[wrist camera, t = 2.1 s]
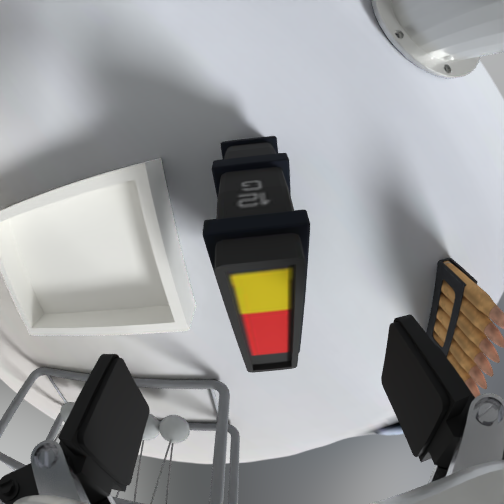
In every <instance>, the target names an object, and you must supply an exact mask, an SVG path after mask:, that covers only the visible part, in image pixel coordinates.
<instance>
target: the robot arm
mask: <svg viewBox="0 0 504 504" xmlns="http://www.w3.org/2000/svg"><path fill="white" fill-rule="evenodd" d="M372 6H373V10H374V13H375V16H376V18H377V20H378V22H379V25H380V26H381V28H382V30H383V31H384V33H385V34H386V36H387V37H388V39H389V40H390V41H391V42H392V44H393V45H394V46H395V47H396V48H397V49H398V50H399V51H400V52H401V53H402V54H403V55H404V56H405V57H406V58H407V59H408V60H409V61H411V62H412V63H413V64H415V65H416V66H417V67H419V68H421V69H422V70H424V71H426V72H428V73H430V74H433V75H435V76H438V77H443V78H457V77H463V76H465V75H467V74H469V73H471V72H472V71H473V70H474V69H475V68H476V66H477V64H478V63H479V60H480V57H481V56H484V55H490V54H496V53H502V52H504V0H372ZM381 379H382V385H383V388H384V390H385V392H386V394H387V396H388V399H389V401H390V403H391V405H392V407H393V409H394V412H395V414H396V416H397V418H398V421H399V423H400V425H401V427H402V430H403V432H404V434H405V437H406V439H407V441H408V444H409V446H410V448H411V450H412V453H413V455H414V456H415V457H417V456H419V459H420V461H421V462H423V461H426V460H428V459H430V458H432V460H433V462H434V464H435V467H434V470H433V473H432V475H431V477H430V480H429V482H428V484H427V485H424V486H421V487H419V488H416V489H414V490H411V491H408V492H405V493H402V494H399V495H396V496H394V497H390V498H387V499H384V500H381V501H377V502H374V503H371V504H504V400H503V399H502V398H501V397H499V396H498V395H494V394H492V393H491V394H490V393H485V394H482V395H479V396H477V397H476V398H475V397H474V395H473V394H472V392H471V391H470V389H469V388H468V386H467V385H466V384H465V382H464V381H463V379H462V378H461V376H460V375H459V374H458V372H457V371H456V370H455V368H454V367H453V365H452V364H451V363H450V361H449V360H448V359H447V357H446V356H445V355H444V353H443V352H442V351H441V349H440V348H439V347H438V346H436V345H435V344H434V343H433V342H432V340H431V339H430V338H429V336H428V335H427V334H426V332H425V331H424V330H423V329H422V327H421V326H420V325H419V324H418V322H417V321H416V320H415V319H414V317H413V316H412V315H406V316H402V317H398V318H395V320H394V323H391V324H390V327H389V334H388V341H387V348H386V354H385V361H384V366H383V372H382V378H381ZM148 416H149V406H148V404H147V402H146V401H145V399H144V397H143V396H142V394H141V392H140V390H139V388H138V387H137V385H136V383H135V381H134V379H133V377H132V376H131V374H130V372H129V370H128V368H127V366H126V364H125V362H124V360H123V359H122V358H120V357H119V356H118V355H117V354H103V355H101V356H100V358H99V359H98V361H97V363H96V365H95V367H94V368H93V370H92V372H91V374H90V376H89V377H88V379H87V381H86V383H85V385H84V387H83V389H82V391H81V393H80V394H79V396H78V398H77V400H76V402H75V404H74V406H73V408H72V410H71V412H70V414H69V416H68V418H67V420H66V422H65V424H64V427H63V428H62V431H61V433H60V435H59V437H58V438H59V439H60V443H59V444H58V443H57V442H56V441H53V440H46V441H43V442H41V443H39V444H38V445H37V446H36V447H35V448H34V449H33V451H32V454H31V463H30V464H28V465H26V466H24V467H22V468H20V469H18V470H16V471H13V472H11V473H9V474H7V475H5V476H4V477H2V478H1V480H0V504H116V503H115V501H114V500H113V498H112V496H111V494H110V492H111V489H114V490H119V491H125V490H126V486H127V485H129V484H130V483H131V479H132V475H133V471H134V467H135V463H136V460H137V456H138V452H139V449H140V445H141V441H142V438H143V434H144V430H145V427H146V423H147V420H148Z"/></svg>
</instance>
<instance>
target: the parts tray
mask: <svg viewBox="0 0 504 504" xmlns="http://www.w3.org/2000/svg"><path fill="white" fill-rule="evenodd" d="M0 271H1V274H2V276H3V279H4V281H5V284H6V286H7V289H8V291H9V293H10V295H11V298H12V300H13V302H14V304H15V306H16V308H17V311H18V313H19V315H20V317H21V319H22V321H23V323H24V325H25V326H26V328H27V330H28V332H29V334H30V335H33V336H103V335H131V334H150V333H166V332H180V331H189V330H190V327H191V323H192V319H193V316H194V312H195V309H196V302H195V299H194V295H193V291H192V288H191V284H190V280H189V277H188V273H187V269H186V265H185V261H184V257H183V253H182V250H181V245H180V241H179V237H178V233H177V229H176V225H175V220H174V216H173V212H172V207H171V203H170V198H169V194H168V189H167V184H166V179H165V174H164V169H163V164H162V159H161V158H158V159H154V160H150V161H146V162H142V163H138V164H134V165H130V166H127V167H123V168H119V169H116V170H112V171H109V172H105V173H102V174H99V175H95V176H92V177H89V178H86V179H82V180H79V181H76V182H73V183H70V184H67V185H64V186H61V187H58V188H56V189H53V190H50V191H47V192H45V193H42V194H39V195H37V196H34V197H31V198H29V199H26V200H24V201H21V202H19V203H16V204H14V205H11V206H9V207H7V208H4V209H2V210H0Z"/></svg>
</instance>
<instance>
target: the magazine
mask: <svg viewBox="0 0 504 504" xmlns="http://www.w3.org/2000/svg"><path fill="white" fill-rule="evenodd" d="M221 150H222V157H223V160H216V161H213V166H212V172H213V177H214V182H215V187H216V192H217V197H218V203H217V219H213V220H205V221H204V227H203V238H204V241H205V244H206V248H207V251H208V254H209V257H210V261H211V264H212V267H213V270H214V273H215V276H216V280H217V283H218V286H219V289H220V292H221V295H222V298H223V301H224V304H225V307H226V310H227V313H228V316H229V319H230V322H231V325H232V328H233V331H234V334H235V337H236V340H237V343H238V346H239V348H240V351H241V354H242V357H243V360H244V363H245V365H246V368H247V371H248V372H263V371H274V370H283V369H292V368H296V367H297V362H298V353H299V352H300V344H301V334H302V324H303V314H304V303H305V292H306V279H307V266H308V251H309V234H310V222H309V218H308V215H307V211H306V210H296V211H294V209H293V204H292V200H291V196H290V170H289V159H288V157H287V154H286V153H278V148H277V138H276V137H275V136H269V137H259V138H249V139H241V140H232V141H225V142H222V143H221Z"/></svg>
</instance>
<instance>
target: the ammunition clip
mask: <svg viewBox="0 0 504 504" xmlns="http://www.w3.org/2000/svg"><path fill="white" fill-rule="evenodd" d="M488 317H489V318H490V319H492V321H493V322H494V323H496V324H497V325H498V326H500V327H501V328H503V329H504V313H503V312H502V311H501V309H500V308H499V307H498V306H497V305H496V304H495V303H494V302H493V300H492V299H491V297H490V296H489V295H488V294H487V293H486V292H485V291H484V290H482V289H481V288H480V287H479V286H478V285H477V281H476V280H475V279H474V278H473V277H472V276H471V275H470V274H469V273H468V272H466V271H465V270H464V269H463V268H462V267H461V266H460V265H459V264H457V263H456V262H455V261H454V260H453V259H452V258H450V259H445V260H440V261H439V262H438V267H437V275H436V283H435V290H434V296H433V302H432V308H431V314H430V319H429V324H428V329H427V333H426V334H427V335H428V336H429V338H430V339H431V340H432V342H433V343H434V344H435V345H436V346H438V347H439V348H440V349H441V351H442V352H443V353H444V355H445V356H446V357H447V359H448V360H449V361H450V363H451V364H452V365H453V367H454V368H455V370H456V371H457V372H458V374H459V375H460V376H461V378H462V379H463V381H464V382H465V384H466V385H467V386H468V388H469V389H470V391H471V392H472V394H473V395H474V397H475V398H476V397H477V396H479V395H480V392H479V389H478V387H477V385H476V383H477V384H478V385H479V386H480V387H482V388H483V389H487V384H486V380H485V378H484V375H483V373H482V372H481V370H482V371H483V372H484V373H486V374H487V375H489V376H493V370H492V367H491V365H490V363H489V361H488V359H487V358H486V356H487V357H488V358H490V359H491V360H493V361H494V362H497V363H499V362H500V361H499V356H498V353H497V351H496V349H495V348H494V346H493V344H492V343H491V342H490V340H491V341H493V342H494V343H495V344H497V345H498V346H500V347H503V348H504V338H503V336H502V334H501V333H500V331H499V330H498V328H497V327H496V326H495V325H494V324H493V322H492V321H491V320H490V319H489V318H488ZM487 337H488V338H489V339H490V340H489V339H488V338H487ZM483 353H484V354H485V355H486V356H485V355H484V354H483ZM479 368H480V369H481V370H480V369H479ZM475 382H476V383H475Z"/></svg>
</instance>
